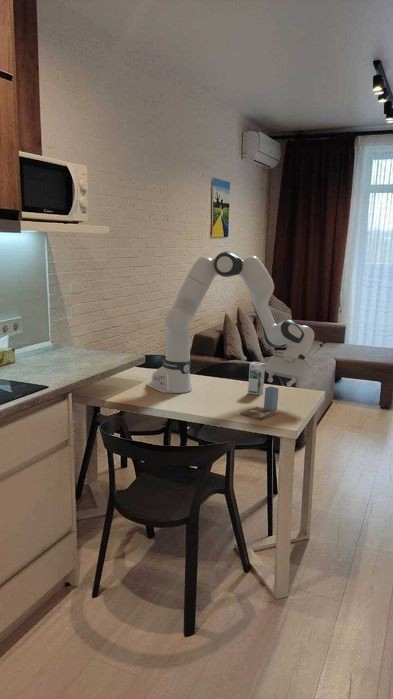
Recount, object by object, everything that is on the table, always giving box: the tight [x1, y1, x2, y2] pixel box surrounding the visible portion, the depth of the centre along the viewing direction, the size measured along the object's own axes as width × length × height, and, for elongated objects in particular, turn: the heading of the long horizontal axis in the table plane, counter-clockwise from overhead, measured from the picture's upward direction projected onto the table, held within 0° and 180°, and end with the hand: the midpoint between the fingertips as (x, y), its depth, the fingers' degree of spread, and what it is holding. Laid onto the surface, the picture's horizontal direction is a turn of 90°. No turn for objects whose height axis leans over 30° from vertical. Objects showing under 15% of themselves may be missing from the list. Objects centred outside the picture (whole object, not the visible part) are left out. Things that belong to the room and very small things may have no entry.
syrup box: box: [247, 361, 266, 396], centre depth 246 cm, size 6×6×14 cm
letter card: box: [239, 406, 278, 421], centre depth 217 cm, size 10×12×1 cm
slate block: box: [263, 386, 280, 411], centre depth 224 cm, size 4×4×9 cm
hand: (278, 383), depth 227 cm, fingers open, 8 cm apart
